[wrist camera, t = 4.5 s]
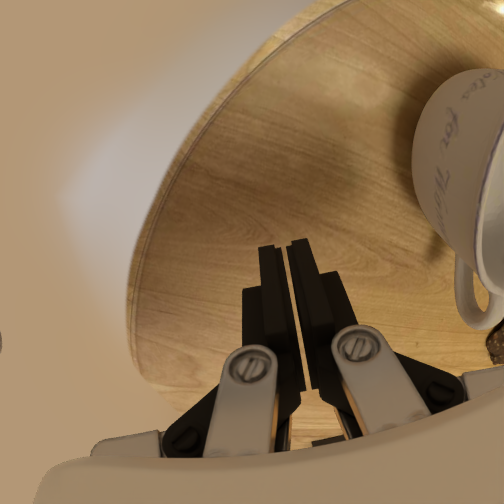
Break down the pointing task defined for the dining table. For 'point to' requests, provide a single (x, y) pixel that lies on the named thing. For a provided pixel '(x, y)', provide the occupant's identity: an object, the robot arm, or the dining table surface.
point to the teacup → (466, 183)
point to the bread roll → (496, 346)
